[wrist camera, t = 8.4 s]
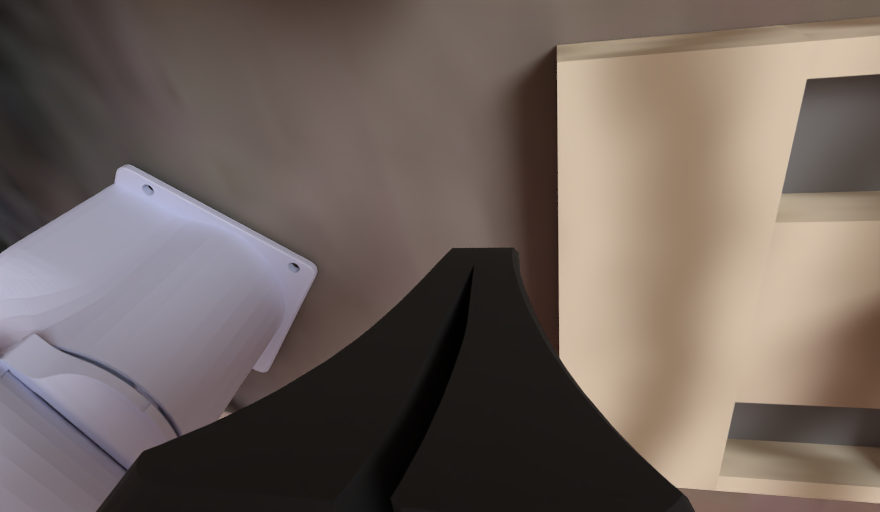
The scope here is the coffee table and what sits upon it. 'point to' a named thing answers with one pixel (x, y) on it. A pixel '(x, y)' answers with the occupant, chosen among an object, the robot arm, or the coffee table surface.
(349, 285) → the coffee table surface
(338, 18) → the coffee table surface
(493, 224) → the coffee table surface
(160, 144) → the coffee table surface
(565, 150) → the trap board
